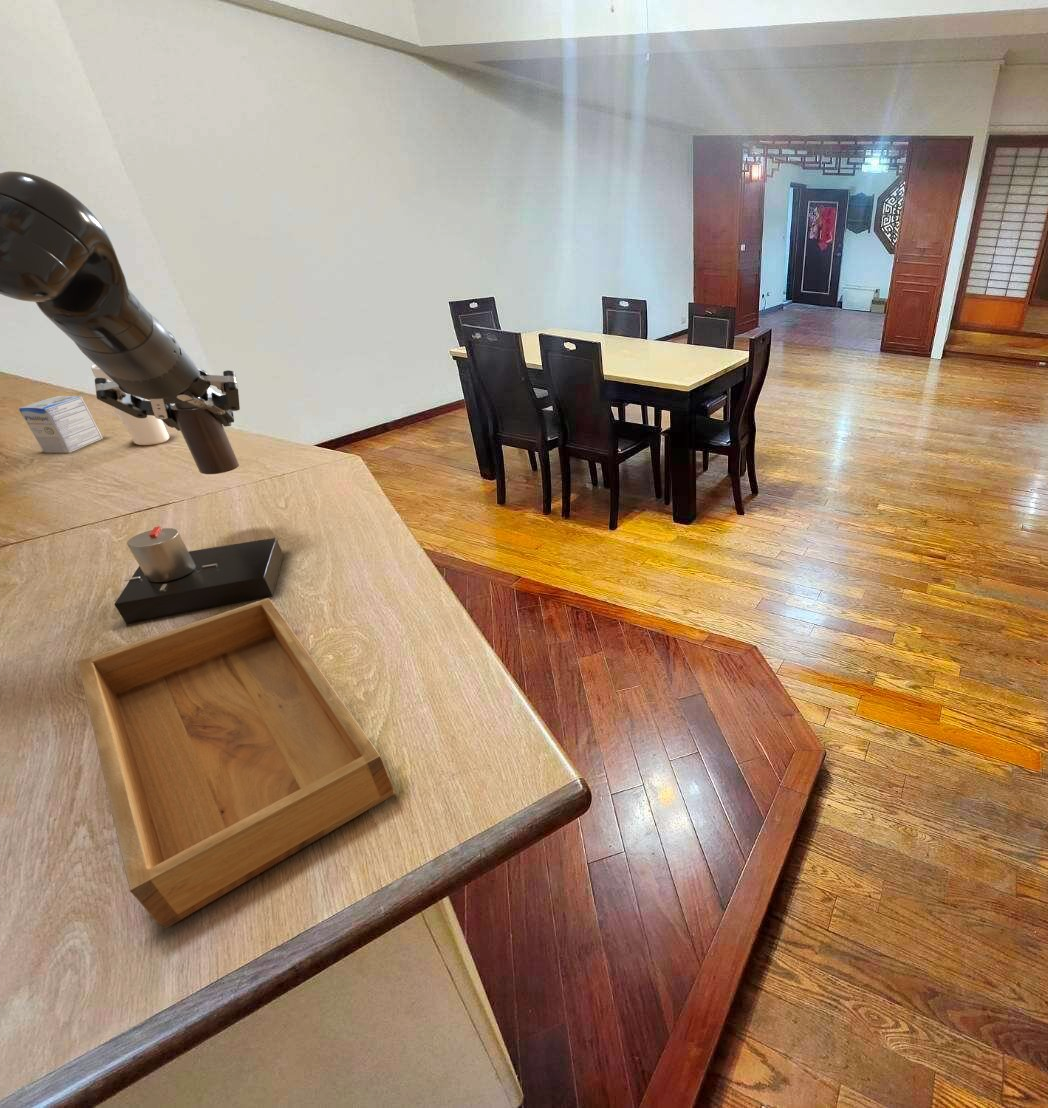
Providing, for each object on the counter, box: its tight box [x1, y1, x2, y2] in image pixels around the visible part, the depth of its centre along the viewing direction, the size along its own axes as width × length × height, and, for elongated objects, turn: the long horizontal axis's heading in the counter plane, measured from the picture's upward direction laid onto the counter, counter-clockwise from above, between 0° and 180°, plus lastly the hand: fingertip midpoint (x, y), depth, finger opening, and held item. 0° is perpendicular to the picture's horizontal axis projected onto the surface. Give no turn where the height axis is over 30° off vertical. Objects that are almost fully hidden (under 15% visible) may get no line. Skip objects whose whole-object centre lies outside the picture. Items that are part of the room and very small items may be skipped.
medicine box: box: [18, 395, 104, 454], centre depth 111 cm, size 8×4×9 cm, turn 6°
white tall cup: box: [90, 364, 170, 446], centre depth 113 cm, size 7×7×15 cm
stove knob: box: [126, 525, 196, 582], centre depth 71 cm, size 5×5×5 cm
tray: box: [77, 597, 395, 929], centre depth 52 cm, size 31×15×6 cm, turn 48°
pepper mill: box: [170, 402, 240, 475], centre depth 80 cm, size 4×4×10 cm
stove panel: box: [114, 537, 285, 625], centre depth 74 cm, size 14×11×3 cm
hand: (204, 422), depth 81 cm, fingers closed on pepper mill, 4 cm apart
